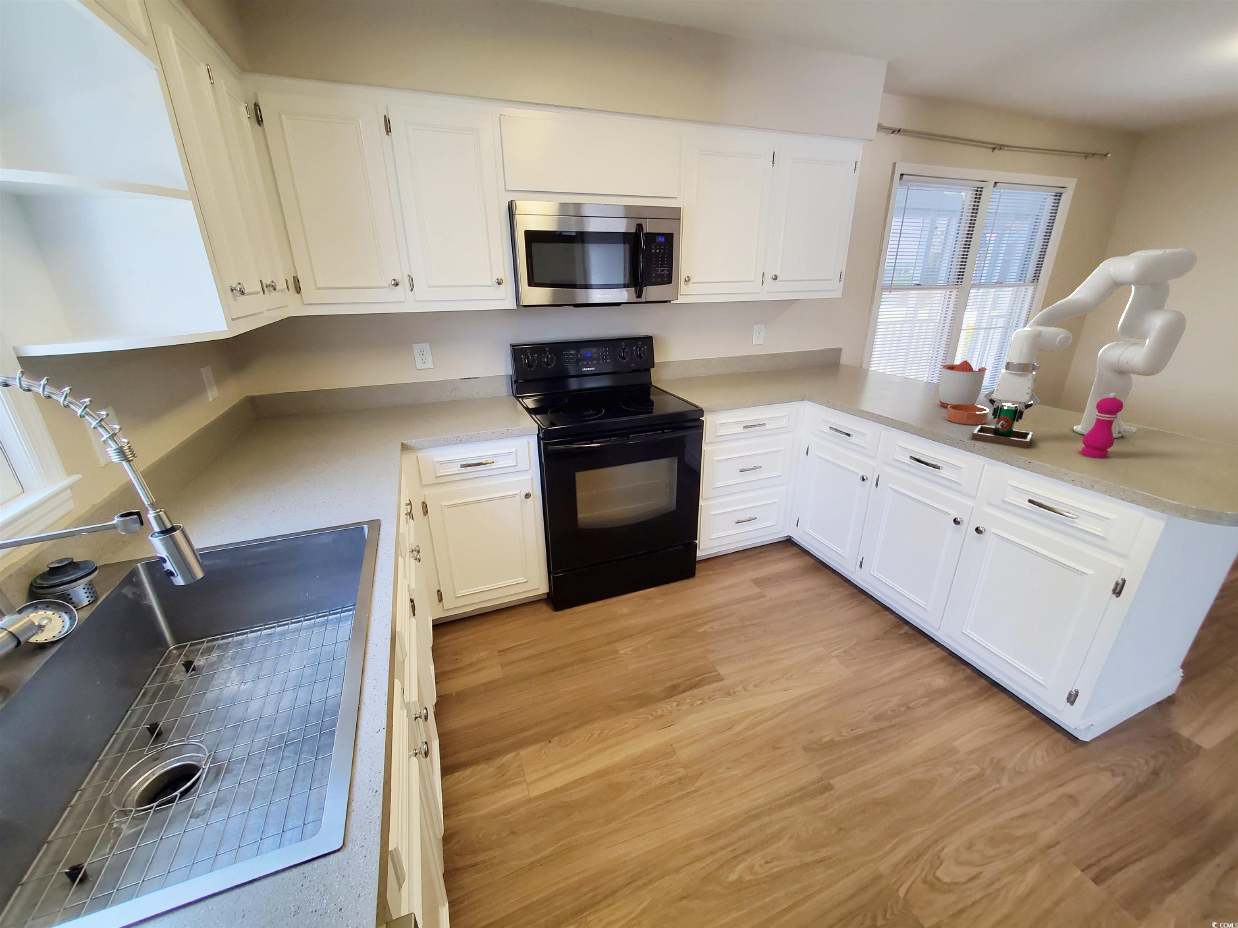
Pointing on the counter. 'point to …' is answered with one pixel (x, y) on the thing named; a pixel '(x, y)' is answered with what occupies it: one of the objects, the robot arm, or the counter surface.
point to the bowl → (967, 414)
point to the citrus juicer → (960, 384)
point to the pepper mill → (1102, 428)
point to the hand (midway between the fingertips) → (1006, 419)
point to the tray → (1016, 439)
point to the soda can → (1006, 420)
